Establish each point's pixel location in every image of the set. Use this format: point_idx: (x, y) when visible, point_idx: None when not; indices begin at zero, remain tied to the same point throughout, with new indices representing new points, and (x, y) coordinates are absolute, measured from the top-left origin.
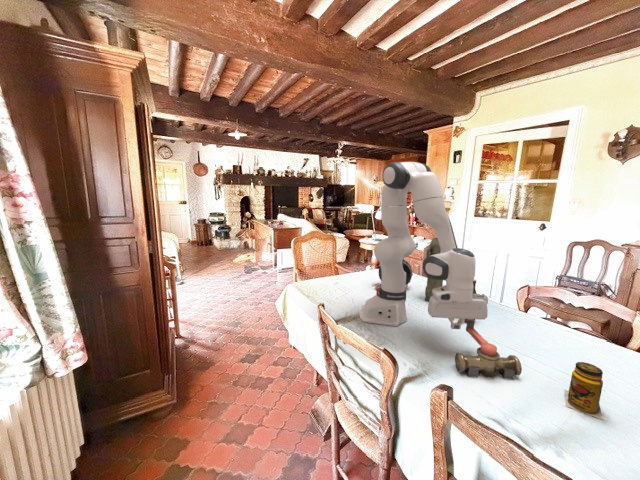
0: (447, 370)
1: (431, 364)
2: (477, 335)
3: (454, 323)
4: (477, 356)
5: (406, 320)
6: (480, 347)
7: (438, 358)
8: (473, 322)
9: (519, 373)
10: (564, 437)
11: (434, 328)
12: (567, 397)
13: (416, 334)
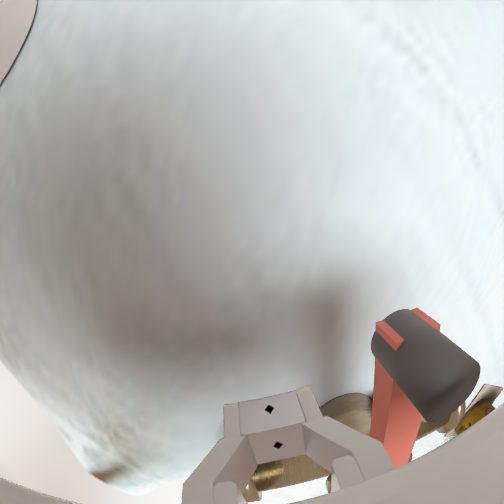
0: (200, 449)
1: (142, 433)
2: (395, 448)
3: (264, 442)
4: (325, 470)
5: (21, 45)
6: None
7: (165, 399)
8: (459, 404)
9: None
10: None
11: (167, 50)
12: (469, 408)
13: (46, 187)
